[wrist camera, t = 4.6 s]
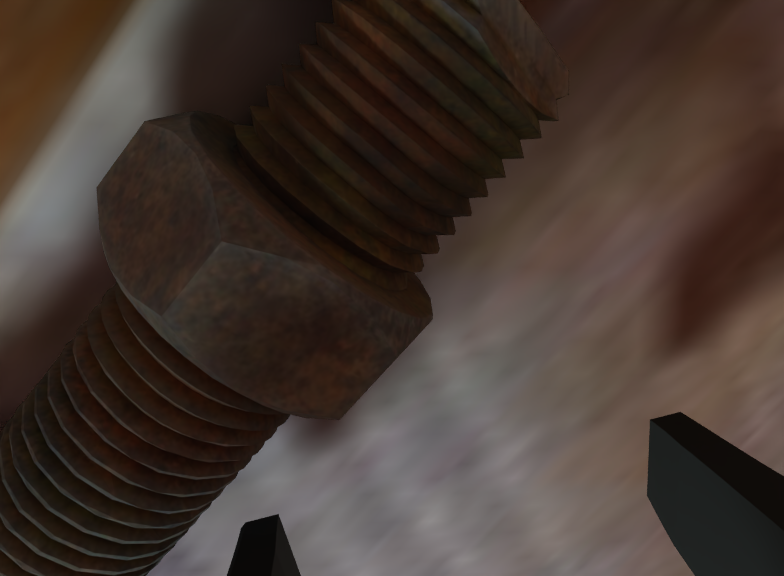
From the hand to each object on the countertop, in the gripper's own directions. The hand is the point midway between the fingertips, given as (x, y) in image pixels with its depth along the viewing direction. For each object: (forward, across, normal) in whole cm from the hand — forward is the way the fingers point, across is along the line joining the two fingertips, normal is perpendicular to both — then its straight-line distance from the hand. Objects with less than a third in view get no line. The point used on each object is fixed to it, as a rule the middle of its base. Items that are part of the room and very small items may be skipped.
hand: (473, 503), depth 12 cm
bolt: (+2, +5, -4) cm, 6 cm away
